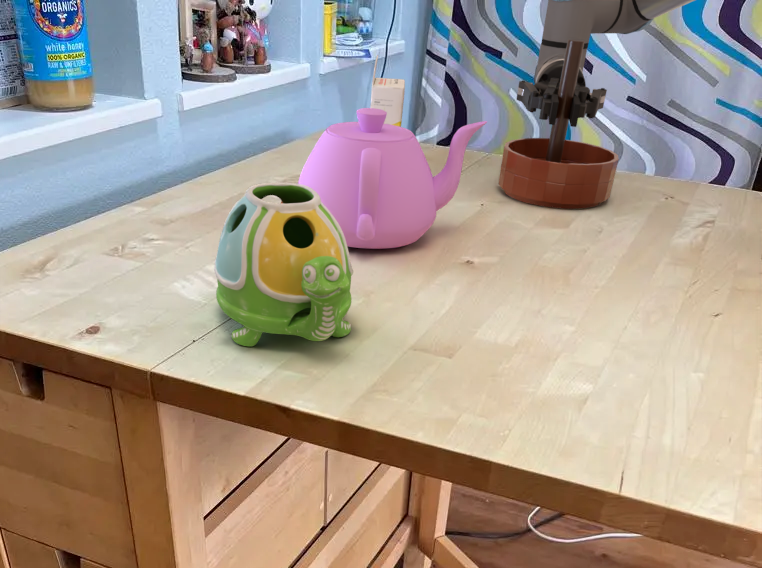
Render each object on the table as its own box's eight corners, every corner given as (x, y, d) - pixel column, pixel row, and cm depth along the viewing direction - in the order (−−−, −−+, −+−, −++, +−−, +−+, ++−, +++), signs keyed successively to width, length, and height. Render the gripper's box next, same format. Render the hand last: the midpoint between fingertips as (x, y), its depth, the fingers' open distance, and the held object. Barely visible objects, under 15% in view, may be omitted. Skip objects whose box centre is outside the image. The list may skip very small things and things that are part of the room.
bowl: (587, 181, 127) (597, 140, 123) (623, 212, 114) (635, 166, 110) (487, 178, 125) (493, 135, 121) (512, 208, 112) (520, 162, 109)
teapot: (481, 271, 91) (501, 138, 83) (289, 261, 90) (290, 124, 82) (460, 214, 108) (475, 99, 100) (299, 205, 108) (300, 88, 99)
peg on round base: (562, 178, 121) (590, 38, 110) (574, 189, 116) (605, 44, 105) (523, 177, 120) (548, 36, 109) (534, 187, 116) (561, 41, 105)
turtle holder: (259, 386, 66) (256, 238, 59) (201, 304, 79) (193, 175, 72) (394, 367, 70) (407, 227, 63) (318, 292, 83) (322, 169, 76)
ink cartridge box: (398, 174, 124) (407, 64, 115) (366, 171, 124) (372, 61, 115) (398, 160, 131) (406, 55, 122) (367, 158, 131) (374, 53, 122)
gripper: (603, 118, 128) (615, 150, 109) (506, 109, 129) (503, 139, 111) (615, 64, 123) (630, 88, 105) (515, 55, 125) (512, 77, 106)
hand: (564, 114), depth 108 cm, fingers closed on peg on round base, 2 cm apart
